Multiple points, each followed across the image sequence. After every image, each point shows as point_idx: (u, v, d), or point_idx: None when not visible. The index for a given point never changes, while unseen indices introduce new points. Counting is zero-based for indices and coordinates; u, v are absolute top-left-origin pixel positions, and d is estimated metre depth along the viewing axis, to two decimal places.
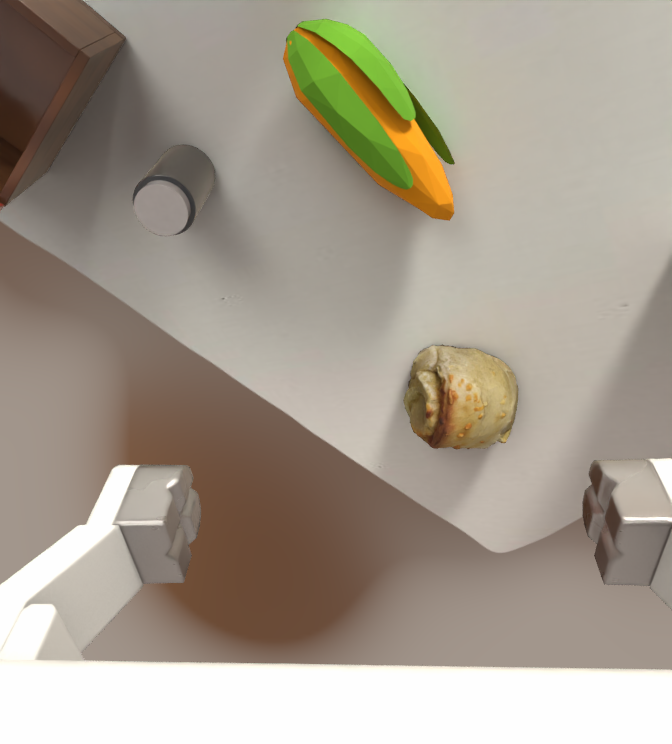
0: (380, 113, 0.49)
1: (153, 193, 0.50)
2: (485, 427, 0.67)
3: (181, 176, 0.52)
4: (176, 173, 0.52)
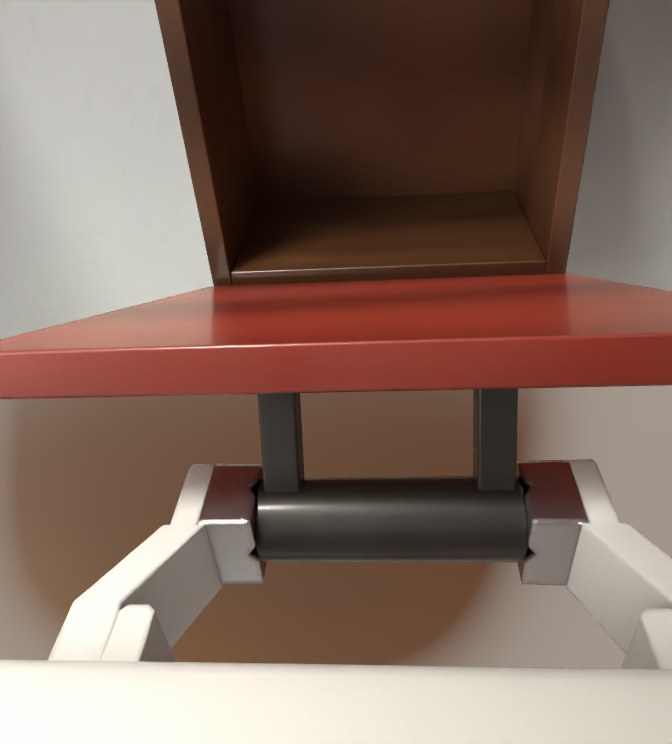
0: None
1: None
2: None
3: None
4: None
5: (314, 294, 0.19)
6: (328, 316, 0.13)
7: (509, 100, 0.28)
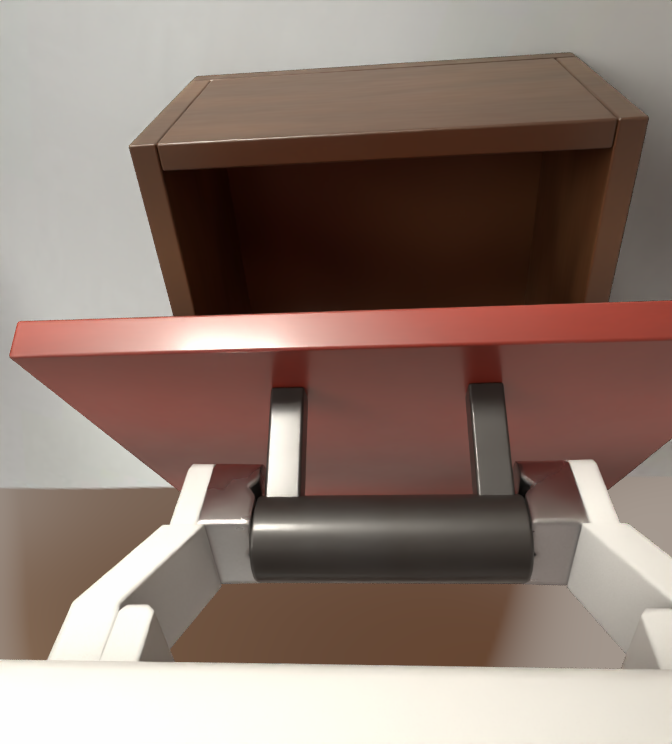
0: None
1: None
2: None
3: None
4: None
5: None
6: None
7: (510, 303, 0.29)
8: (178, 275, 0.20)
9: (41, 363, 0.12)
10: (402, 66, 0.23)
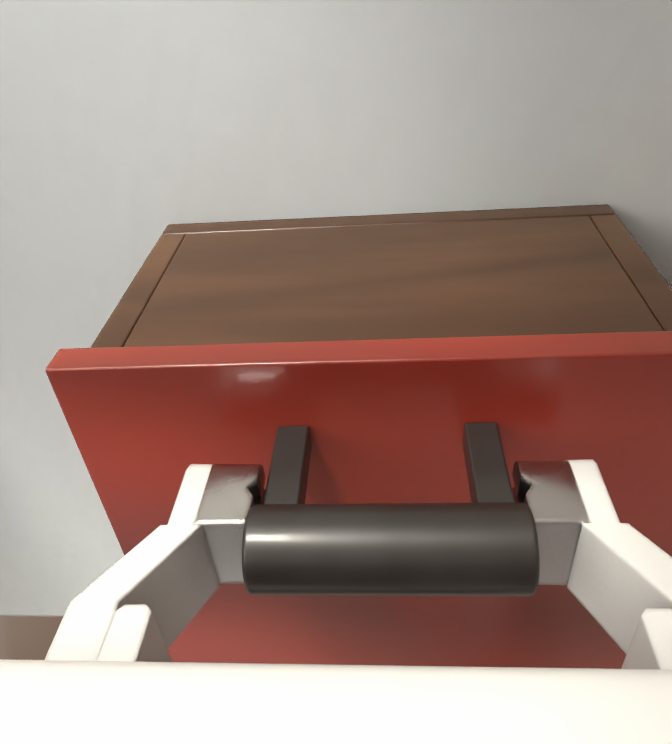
0: None
1: None
2: None
3: None
4: None
5: None
6: None
7: None
8: None
9: (71, 380, 0.13)
10: (409, 220, 0.20)
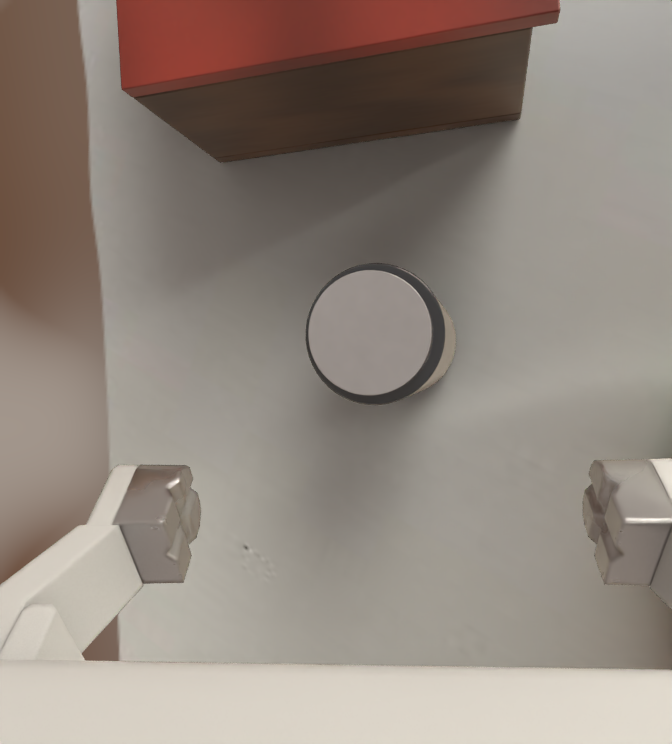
0: None
1: (390, 295, 0.22)
2: None
3: (446, 322, 0.24)
4: (443, 311, 0.24)
5: None
6: None
7: None
8: None
9: None
10: None
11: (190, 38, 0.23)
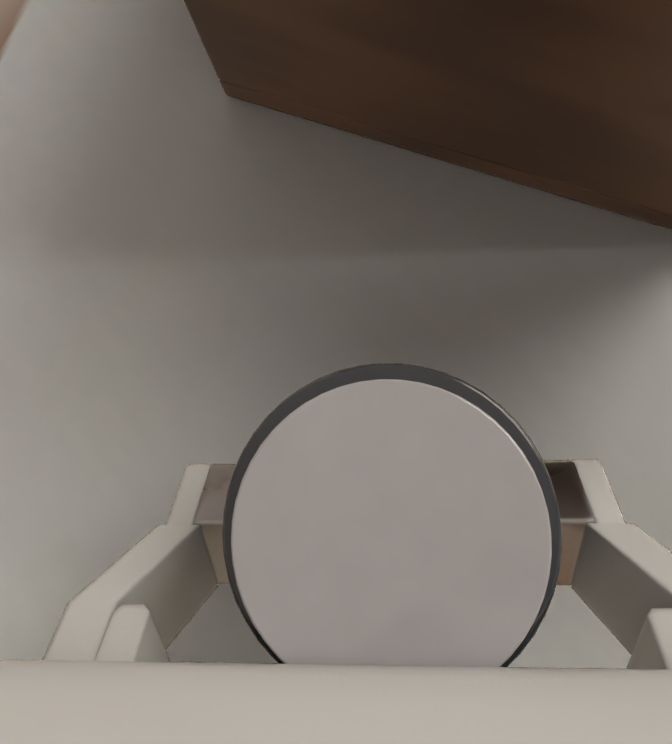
0: None
1: (478, 475, 0.09)
2: None
3: None
4: None
5: None
6: None
7: None
8: None
9: None
10: None
11: None
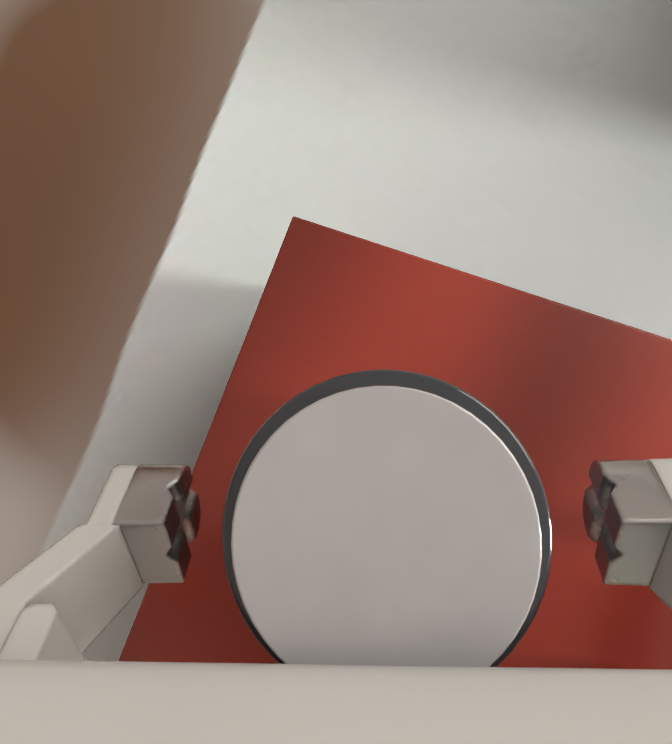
0: None
1: (470, 479, 0.09)
2: None
3: None
4: None
5: None
6: None
7: None
8: None
9: None
10: None
11: None
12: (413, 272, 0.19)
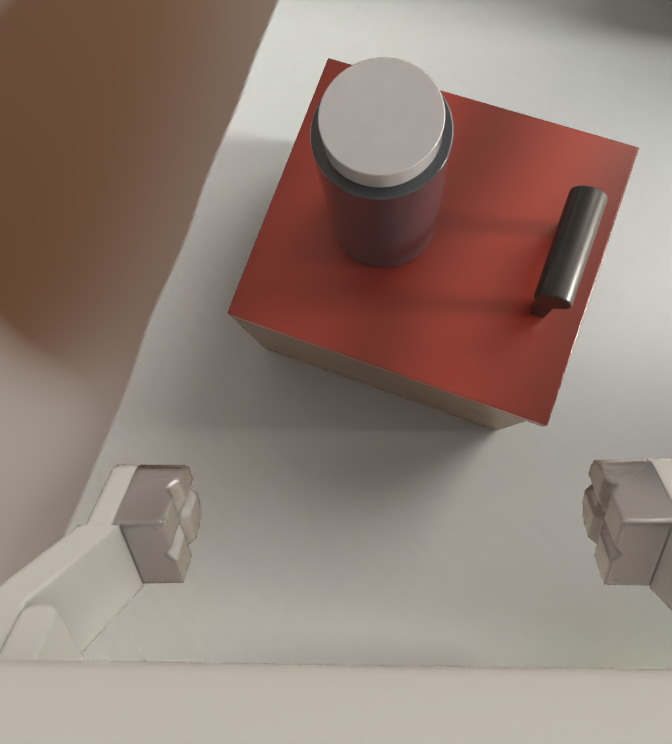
0: None
1: (416, 90, 0.22)
2: None
3: (449, 158, 0.24)
4: None
5: None
6: None
7: None
8: None
9: (630, 155, 0.30)
10: None
11: (294, 306, 0.30)
12: None
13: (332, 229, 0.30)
